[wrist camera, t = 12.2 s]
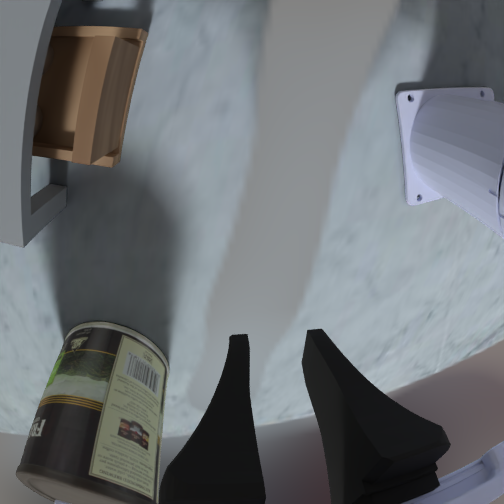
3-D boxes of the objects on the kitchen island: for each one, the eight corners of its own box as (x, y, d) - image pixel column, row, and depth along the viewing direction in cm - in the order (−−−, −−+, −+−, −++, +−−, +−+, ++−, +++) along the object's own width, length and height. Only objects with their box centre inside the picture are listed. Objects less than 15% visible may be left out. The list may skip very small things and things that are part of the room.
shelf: (110, -19, 11) (71, -51, 6) (66, 206, 18) (23, 247, 13) (12, -9, 10) (-38, -22, 5) (-17, 190, 17) (-64, 223, 11)
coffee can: (60, 370, 26) (22, 490, 14) (72, 301, 22) (6, 456, 10) (151, 405, 29) (140, 528, 17) (187, 349, 25) (180, 513, 13)
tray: (149, 34, 14) (123, 15, 10) (121, 160, 18) (89, 185, 13) (27, 32, 12) (-20, 26, 8) (9, 145, 16) (-37, 165, 11)
